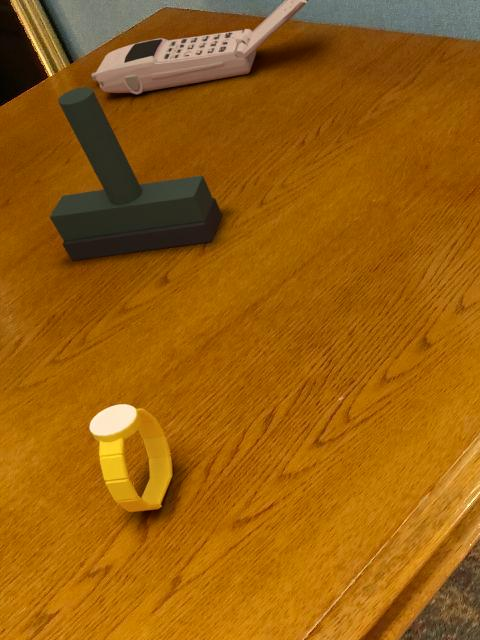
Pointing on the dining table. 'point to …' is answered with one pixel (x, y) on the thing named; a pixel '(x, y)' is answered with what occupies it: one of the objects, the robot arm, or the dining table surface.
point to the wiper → (126, 196)
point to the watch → (111, 434)
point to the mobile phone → (188, 57)
